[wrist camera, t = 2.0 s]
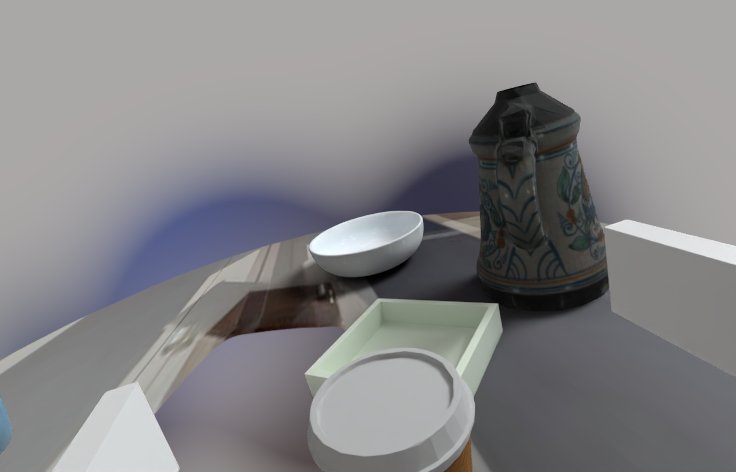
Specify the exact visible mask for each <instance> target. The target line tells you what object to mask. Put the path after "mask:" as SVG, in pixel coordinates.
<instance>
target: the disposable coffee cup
mask: <svg viewBox="0 0 736 472" xmlns="http://www.w3.org/2000/svg"><path fill="white" fill-rule="evenodd" d="M474 414H475V403H474V399H473V395H472V392H471V390H470V389H469V387H468V385H467V383H466V382H465V381H464V380H463V379H462V378H461V377H460V376H459V374H458V372H457V371H456V369H455V368H454V367H453V366H452V364H451V363H450V362H448V361H447V360H446V359H444V358H443V357H442V356H440V355H437V354H435V353H433V352H430V351H427V350H422V349H416V348H392V349H386V350H381V351H377V352H373V353H370V354H367V355H364V356H362V357H359V358H357V359H356V360H354V361H352V362H350V363H348V364H346V365H344V366H343V367H341V368H340V369H338V370H337V371H336V372H334V373H333V374H332V375H331V376H330V377H329V378H328V379H327V380H326V381H325V382H324V383H323V384H322V386H321V387H320V389H319V390H318V391H317V393H316V395H315V397H314V399H313V401H312V404H311V408H310V423H309V427H308V434H307V436H308V447H309V449H310V452H311V454H312V456H313V459H314V461H315V463H316V464H317V465H318V466H319V467H320V469H321V470H322V471H323V472H472V457H471V440H470V433H471V429H472V427H473V424H474Z"/></svg>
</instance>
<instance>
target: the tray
mask: <svg viewBox="0 0 736 472" xmlns="http://www.w3.org/2000/svg"><path fill="white" fill-rule="evenodd" d="M502 332H503V329H502V323H501V318H500V312H499V306H498V304H496V303H473V302H449V301H426V300H403V299H379V298H378V299H377V300H376V301H375V302H374V303H373V304H372V305H371V306H370V307H369V308H368V309H367V310H366V311H365V312H364V313H363V314H362V315H361V316H360V317H359V318H358V319H357V320H356V322H355V323H354V324H353V325H352V326H351V327H350V328H349V329H348V330H347V331H346V332H345V333H344V334H343V335H342V336H341V337H340V338H339V339H338V340H337V341H336V342H335V343H334V344H333V345H332V346H331V347H330V348H329V349H328V350H327V351H326V352H325V353H324V354H323V355H322V357H320V358H319V359H318V360H317V361H316V362H315V364H313V365H312V366H311V368H310V369H309V370H308V371H307V372H306V373H305V374H304V375H305V378H306V380H307V383H308V386H309V389H310V392H311V394H312V398H313V399H314V397H315V395H316V393H317V391H318V390H319V389H320V387H321V386H322V384H323V383H324V382H325V381H326V380H327V379H328V378H329V377H330V376H331V375H332V374H333V373H334V372H336V371H337V370H338V369H340V368H341V367H343V366H344V365H346V364H348V363H350V362H352V361H354V360H356V359H357V358H359V357H362V356H364V355H367V354H370V353H373V352H377V351H381V350H386V349H392V348H416V349H422V350H427V351H430V352H433V353H435V354H437V355H440V356H442V357H443V358H444V359H446V360H447V361H448V362H450V363H451V364H452V366H453V367H454V368H455V369H456V371H457V372H458V374H459V376H460V377H461V378H462V379H463V380H464V381H465V382H466V383H467V385H468V387H469V389H470V390H471V392H472V395H473V397H474V395H475V393H476V391H477V388H478V386H479V384H480V381H481V379H482V377H483V375H484V372H485V370H486V368H487V366H488V363H489V361H490V359H491V357H492V354H493V352H494V350H495V348H496V345H497V343H498V341H499V339H500V336H501V334H502Z"/></svg>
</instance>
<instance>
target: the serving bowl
mask: <svg viewBox="0 0 736 472" xmlns="http://www.w3.org/2000/svg"><path fill="white" fill-rule="evenodd" d="M422 236H423V219H422V217H421V216H420V215H419V214H417V213H415V212H410V211H391V212H383V213H377V214H372V215H367V216H363V217H359V218H356V219H353V220H350V221H347V222H344V223H341V224H339V225H337V226H334V227H332V228H330V229H328V230H326V231H325V232H323V233H321V234H320V235H318V236H317V237H316V238H315V239H313V241H312V242H311V243H310V245H309V251H310V253H311V255H312V257H313V258H314V260H315V262H316V263H317V264H318V265H319V266H320V267H321V268H322V269H324V270H325V271H327V272H329V273H331V274H334V275H337V276H342V277H361V276H368V275H373V274H377V273H380V272H383V271H386V270H389V269H391V268H393V267H396V266H397V265H399V264H401V263H403V262H404V261H405V260H407V259H408V258H409V257H411V256H412V255H413V254H414V252H415V251H416V250H417V248H418V247H419V245H420V243H421V240H422Z"/></svg>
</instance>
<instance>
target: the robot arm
mask: <svg viewBox="0 0 736 472" xmlns="http://www.w3.org/2000/svg"><path fill="white" fill-rule="evenodd" d="M604 235H605V245H606V256H607V267H608V277H609V288H610V299H611V309H612V312H614V313H616V314H618V315H620V316H621V317H623V318H625V319H627V320H629V321H631V322H633V323H635V324H636V325H638V326H640V327H642V328H644V329H646V330H648V331H650V332H651V333H653V334H655V335H657V336H659V337H661V338H663V339H665V340H666V341H668V342H670V343H672V344H674V345H676V346H678V347H680V348H681V349H683V350H685V351H687V352H689V353H691V354H693V355H694V356H696V357H698V358H700V359H702V360H704V361H706V362H708V363H709V364H711V365H713V366H715V367H717V368H719V369H721V370H723V371H724V372H726V373H728V374H730V375H732V376H734V377H736V246H733V245H728V244H724V243H720V242H716V241H712V240H708V239H704V238H700V237H696V236H692V235H688V234H684V233H680V232H675V231H672V230H668V229H663V228H660V227H655V226H651V225H647V224H643V223H639V222H635V221H631V220H624V221H621V222H618V223H615V224H612V225H609V226H606V227H604ZM11 436H12V426H11V423H10V420H9V417H8V414H7V412H6V409H5V407H4V404H3V402H2V399H1V397H0V454H1V453H2V452H3V451H4V450H5V448H6V447H7V445H8V444H9V442H10V439H11ZM178 471H179V466H178V464H177V462H176V460H175V457H174V455H173V454H172V451H171V449H170V447H169V445H168V443H167V441H166V439H165V437H164V435H163V433H162V431H161V429H160V427H159V425H158V422H157V421H156V419H155V416H154V414H153V412H152V410H151V408H150V406H149V404H148V402H147V400H146V398H145V396H144V394H143V392H142V390H141V388H140V385H139V383H138V382H135V383H132V384H128V385H125V386H122V387H119V388H116V389H113V390H110V391H107V392H105V394H104V395H103V397H102V398H101V400H100V401H99V402H98V404H97V405H96V407H95V408H94V410H93V411H92V413H91V414H90V416H89V417H88V419H87V420H86V422H85V423H84V425H83V426H82V428H81V429H80V431H79V432H78V434H77V435H76V437H75V438H74V439H73V441H72V442H71V444H70V445H69V447H68V448H67V450H66V451H65V453H64V454H63V456H62V457H61V459H60V460H59V462H58V463H57V465H56V466H55V468H54V469H53V471H52V472H178Z"/></svg>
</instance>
